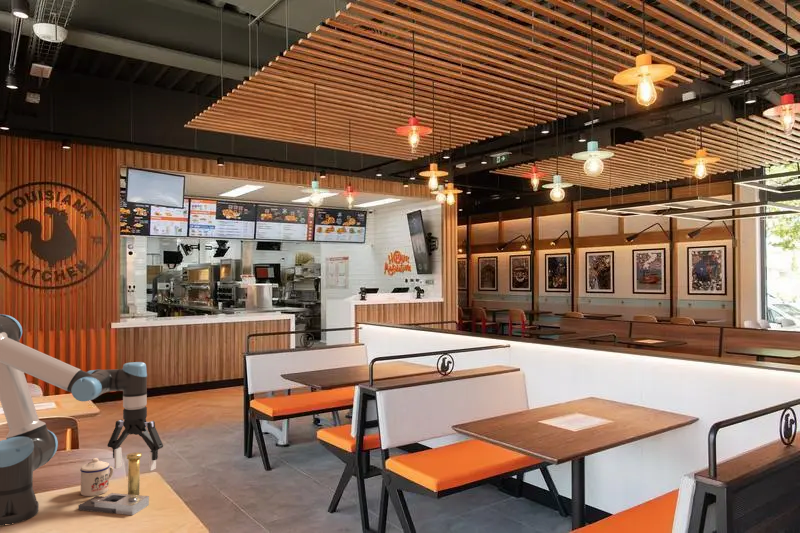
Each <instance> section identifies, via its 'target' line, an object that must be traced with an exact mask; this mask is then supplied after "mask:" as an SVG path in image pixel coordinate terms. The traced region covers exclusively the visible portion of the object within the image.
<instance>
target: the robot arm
mask: <svg viewBox="0 0 800 533" xmlns="http://www.w3.org/2000/svg"><path fill="white" fill-rule="evenodd" d="M22 336H23V327H22V325H21V323H20V322H19V320H17V319H16V318H15V317H13V316H11V315H8V314H3V313H2V314H1V313H0V404H1V408H2V412H3V414H4V417H5V420H6V423H7V426H8V429H9V430H8V433H7V434H6V436H5V438H6V439H2V440H0V525H4V526H6V525H5V524H10V525H13V524H12V523H14V524H19V523H21V522H25V521H27V520H30V519H31V518H33V517H35V516H36V515H37V514H38V513H39V506H40V505H39V501H38V500H37V497H36V493H35V492H34V487H33V481H34V480H33V479H34V476H33V475H34V471H36V470H38V469H39V468H40V467H42V466H45V465H46V464H47V463H48V462H49V461H50V460H51V459H53V457H54V456H55V454H56V453H57V451H58V447H59V446H58V445H59V442H58V437H57V435H56V434H55V433H54V431H51V430H49V429H48V427H47V424H46V422H44V421H42V420H40V419H39V416H38V412H37V410H36V406H35V404H34V400H33V396H32V395H31V390H30V386H29V384H28V382H27V378H26V375H25V374H27V375H29V376H32V377H33V378H36V379H38V380H41V381H43V382H45V383H47V384H50V385H52V386H55V387H57V388H60V389H61V390H64V391H66V392H69V393H71V395H72V397H73V398H74V399H75V400H76V401H79V402H89V401H93V400H95V399H97V398H98V397H99V396H101V395H104V394H105V393H108V392H121V391H122V407H123V410H122V419H120V420H117V421H115V426H114V427H115V428H114V429H113V431H112V434H111V436H110V439H109V440H108V443H107V447H108V448H111V449H112V458H113V459H114V462H113V464H114V465H113V466H114V467H113V470H114V469H119V468H121V467H122V466H123V464H122V463H123V462H122V461H123V456H122V455H123V454H122V452H123V450H122V449H123V448H122V447H121V445H123V443H124V441H125V440H126V439H127V438H128V436H129V435H138V436H139V437H141V438H142V439H143V441H144V443H145V444H146V445H147V446H148V448H149V449H150V450H149V451H148V455H149V456H148V471H150V472H151V471H153V470H155V469H156V468H157V460H158V458H159V453H158V452H159V450H160V449H163V448H164V445H163V442H162V440H161V437H160V435H159V433H158V430H157V427H156V424H155V423H156V422H155V421H154V420H152V421H147V416H148V407H147V404H148V402H147V400H148V399H147V398H148V397H147V396H148V392H147V391H148V390H147V389H148V386H147V384H148V379H147V378H148V373H147V372H148V371H147V364H146V363H145V362H143V361H135V362H133V361H132V362H126V363H125V362H124V364H123V365H122V368H119V369H118V368H117V369H114V368H113V369H100V368H99V369H91V370H88V371H84V370H82V369H81V368H78V367H75V366H73V365H71V364H69V363H66V362H64V361H63V360H60V359H58V358H55V357H53V356H51V355H48V354H46V353H44V352H42V351H39V350H37V349H35V348H32V347H30V346H28V345H26V344H23V343H21V342H20V340H21V338H22ZM123 427H124V430H122V429H123Z"/></svg>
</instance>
